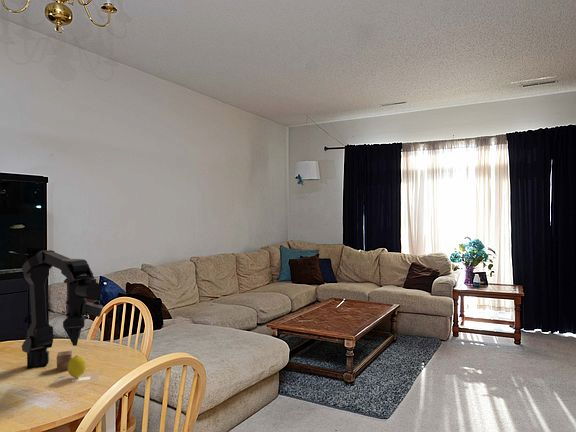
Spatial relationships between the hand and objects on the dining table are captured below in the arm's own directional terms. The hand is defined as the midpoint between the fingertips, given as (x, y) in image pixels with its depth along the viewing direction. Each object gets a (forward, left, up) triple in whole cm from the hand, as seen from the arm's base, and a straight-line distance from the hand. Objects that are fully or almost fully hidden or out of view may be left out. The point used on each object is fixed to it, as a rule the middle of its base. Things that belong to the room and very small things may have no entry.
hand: (76, 341), depth 148 cm
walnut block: (-5, +12, -13) cm, 19 cm away
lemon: (0, 0, -13) cm, 13 cm away
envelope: (0, 0, -13) cm, 13 cm away
